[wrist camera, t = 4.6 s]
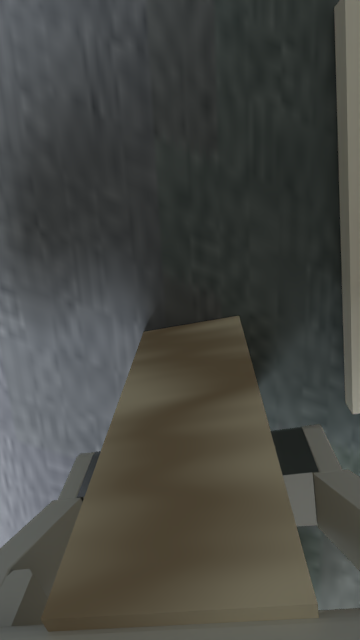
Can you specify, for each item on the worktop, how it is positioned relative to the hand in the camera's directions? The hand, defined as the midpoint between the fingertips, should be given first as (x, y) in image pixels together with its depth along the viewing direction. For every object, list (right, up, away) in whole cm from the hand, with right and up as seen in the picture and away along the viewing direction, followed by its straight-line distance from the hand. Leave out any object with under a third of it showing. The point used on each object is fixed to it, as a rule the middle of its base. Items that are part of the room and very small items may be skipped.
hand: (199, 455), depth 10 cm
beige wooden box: (0, +2, +5) cm, 5 cm away
